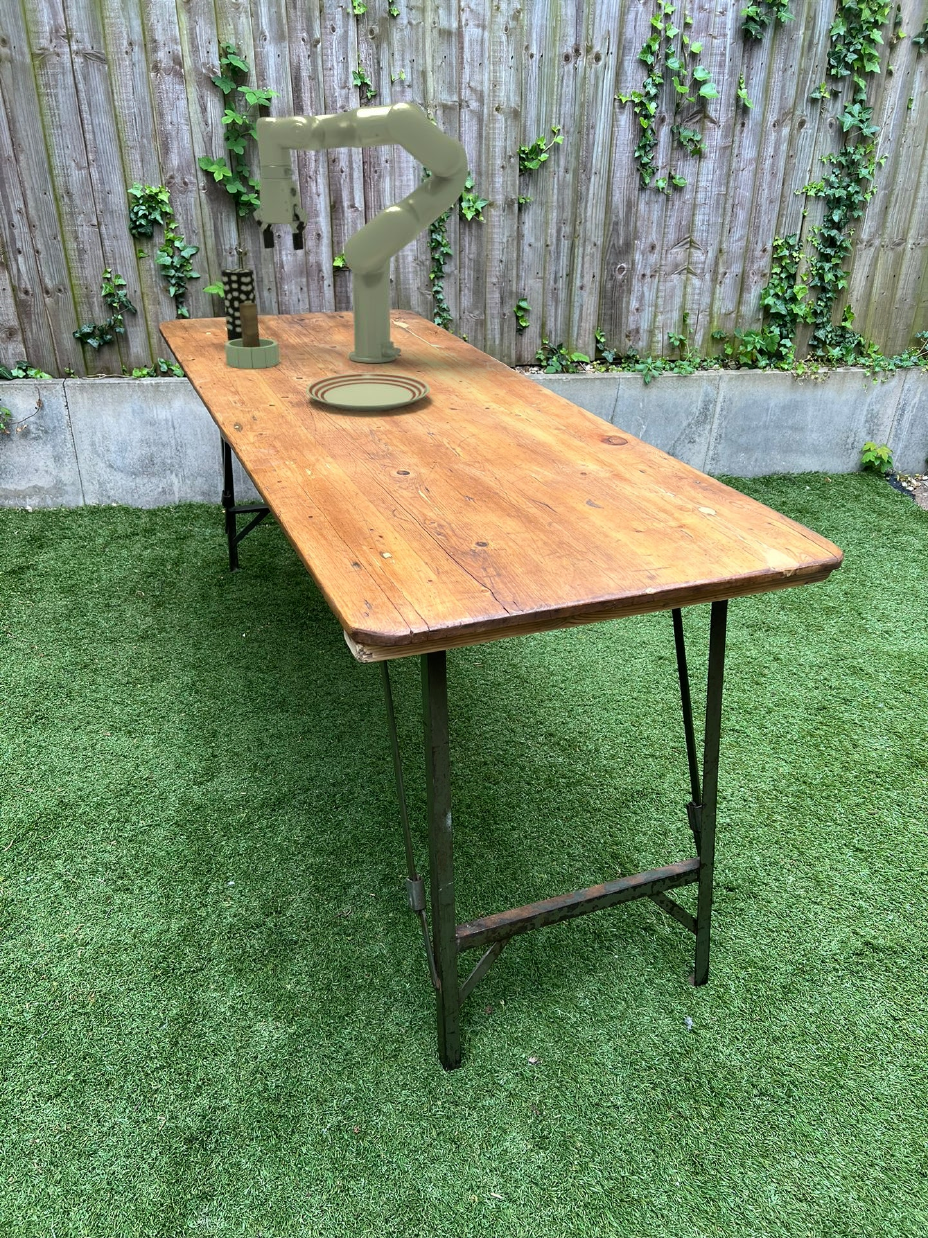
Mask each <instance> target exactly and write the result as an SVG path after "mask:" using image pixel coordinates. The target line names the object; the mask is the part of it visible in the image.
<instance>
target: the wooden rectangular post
mask: <svg viewBox="0 0 928 1238" xmlns="http://www.w3.org/2000/svg"><path fill="white" fill-rule="evenodd" d="M257 306H258V305H257V303H256V304H254V303H242V304H239V308H240V319H241V330H242V341H243V347H248V348H253V347H260V341H259V338H260V330H259V320H258V316H259V315H258V307H257Z"/></svg>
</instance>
